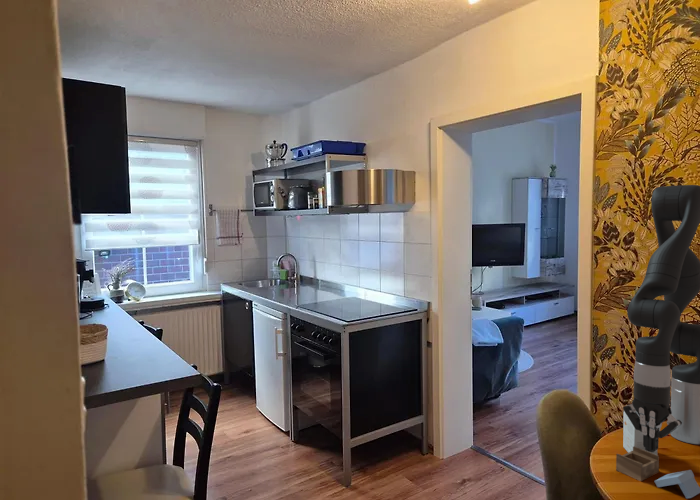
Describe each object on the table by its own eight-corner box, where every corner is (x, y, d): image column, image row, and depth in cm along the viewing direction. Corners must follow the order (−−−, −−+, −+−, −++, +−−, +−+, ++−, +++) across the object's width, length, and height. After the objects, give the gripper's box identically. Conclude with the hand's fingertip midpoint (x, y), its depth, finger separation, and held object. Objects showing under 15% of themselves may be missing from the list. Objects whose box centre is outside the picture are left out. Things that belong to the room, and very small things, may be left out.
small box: (657, 462, 121) (658, 423, 121) (633, 460, 122) (634, 421, 122) (644, 448, 129) (645, 411, 129) (622, 446, 130) (623, 409, 130)
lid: (690, 469, 109) (703, 490, 107) (667, 474, 114) (678, 494, 111) (677, 476, 106) (690, 498, 104) (654, 481, 111) (665, 502, 108)
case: (633, 462, 122) (634, 446, 121) (658, 472, 116) (658, 455, 116) (616, 470, 118) (616, 454, 117) (640, 481, 112) (641, 464, 112)
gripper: (690, 385, 110) (688, 458, 110) (632, 371, 121) (631, 436, 122) (673, 391, 106) (672, 466, 107) (615, 376, 117) (614, 443, 118)
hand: (650, 450), depth 114 cm, fingers closed
